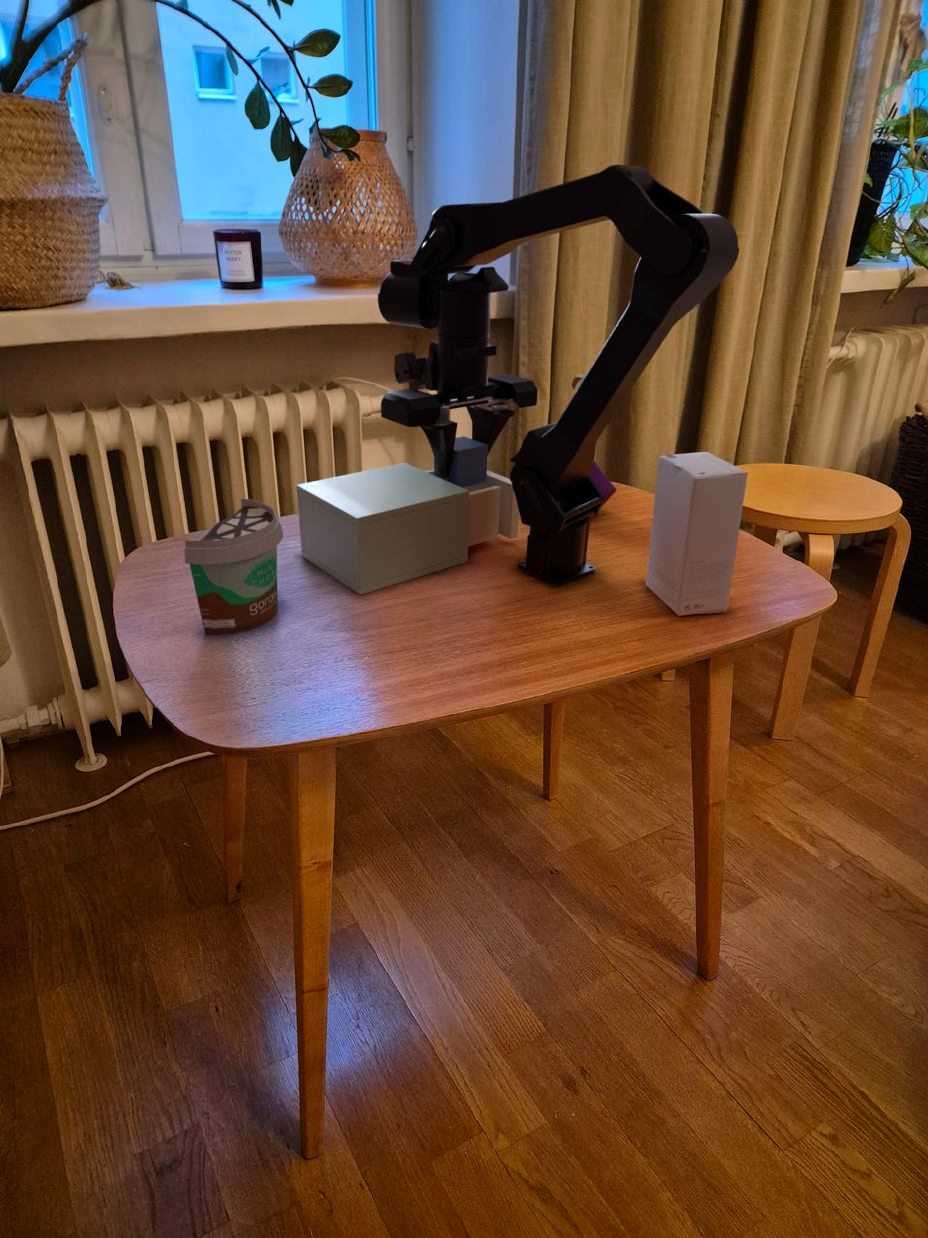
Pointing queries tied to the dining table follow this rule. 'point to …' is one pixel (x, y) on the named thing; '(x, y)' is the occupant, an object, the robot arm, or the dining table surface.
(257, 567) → the food container
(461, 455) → the block
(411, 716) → the dining table surface
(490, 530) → the tray
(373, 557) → the grey storage box
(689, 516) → the cosmetic box
